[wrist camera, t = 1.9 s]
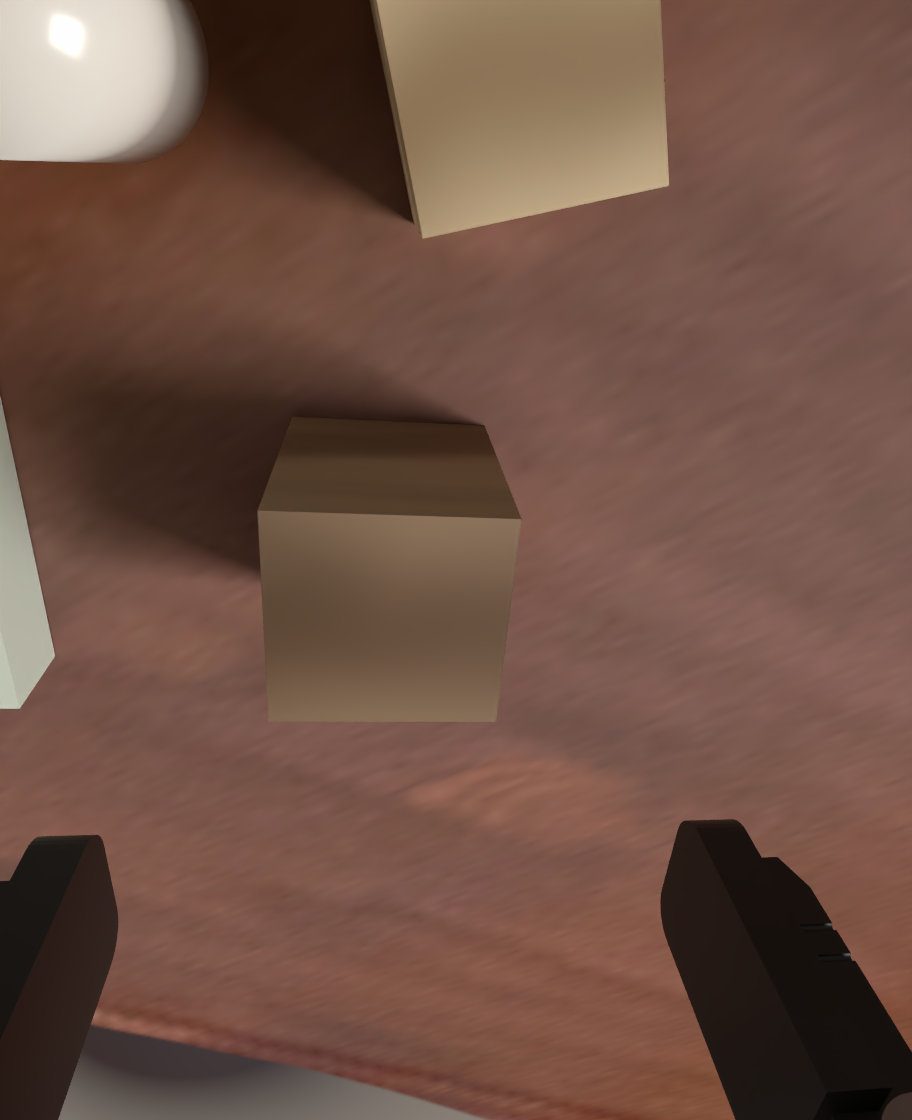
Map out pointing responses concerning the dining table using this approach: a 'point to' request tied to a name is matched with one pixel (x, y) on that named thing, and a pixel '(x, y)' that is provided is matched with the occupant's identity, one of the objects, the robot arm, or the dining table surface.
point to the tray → (18, 592)
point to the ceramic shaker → (99, 79)
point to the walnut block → (386, 572)
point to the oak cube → (522, 104)
